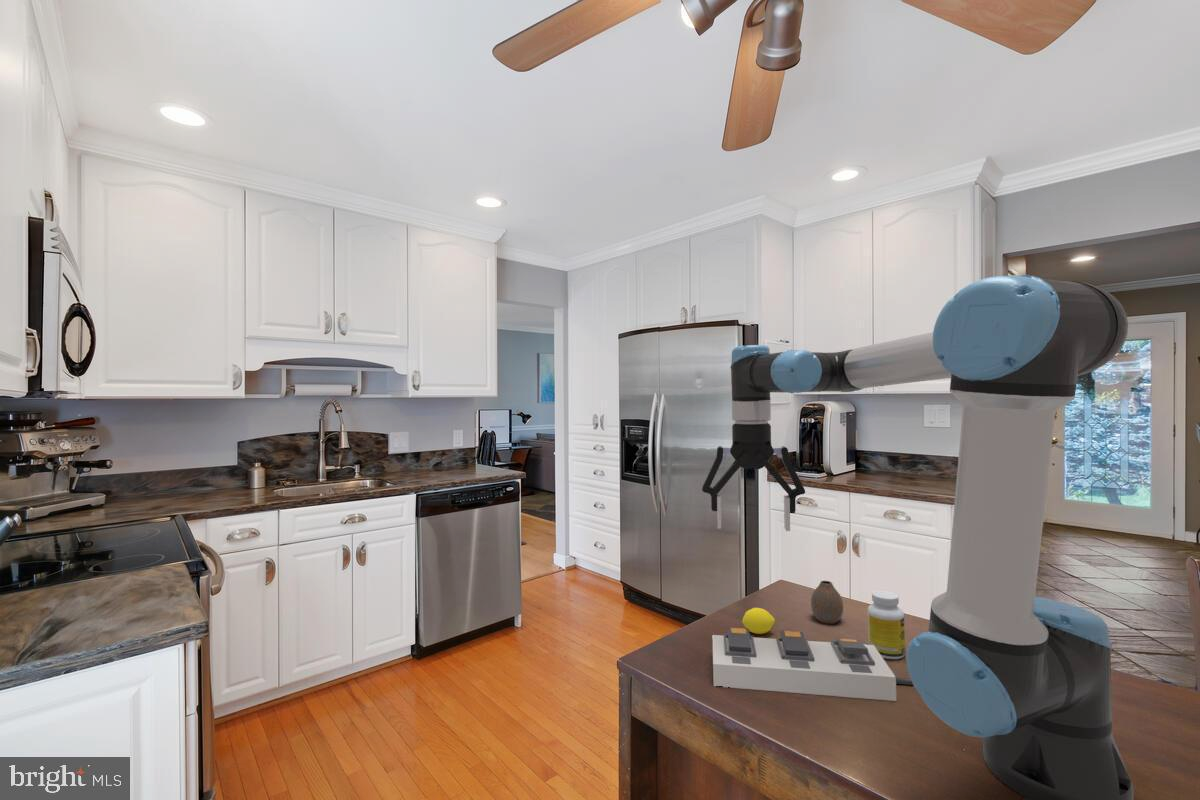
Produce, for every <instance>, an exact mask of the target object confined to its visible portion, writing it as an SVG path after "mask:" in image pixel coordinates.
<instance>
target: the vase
mask: <svg viewBox="0 0 1200 800" xmlns="http://www.w3.org/2000/svg"><path fill="white" fill-rule="evenodd" d="M810 608H811V612H812V615H813V616H814V617H815V618H816V620H818V621H819V622H821V623H823V624H829V625H830V624H832V625H833V624H836V623H837V622H839V621H840V620H841V619H842V616H843V614H844V602H843V598H842V596H841V594H840V593H839V592H838V590H837V589H836V588H835V587H834V585H833V583H832V581H829V580H821V581H820V583H819V584H818V585H817V587H816V588H815V589H814V591H813V592H812V594H811V598H810Z"/></svg>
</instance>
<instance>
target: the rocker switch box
mask: <svg viewBox="0 0 1200 800" xmlns="http://www.w3.org/2000/svg"><path fill="white" fill-rule="evenodd" d="M711 640H712V671H713V672H712V673H713V674H712V676H713V679H712V680H713V687H716V686H723V687H722V688H728V687H730V688H731V689H743V690H755V691H768V692H778V693H779V692H780V693H790V694H791V693H792V694H804V695H814V696H826V697H827V696H828V697H839V698H840V697H841V698H854V699H865V700H881V701H888V702H889V701H891V702H896V701H897V684H899V685H905V686H906V685H907V686H914V685H913V683H912V680H911V678H910V677H908V678H907V677H896V676H895V674H894V672H893V671H892V669H891V668H890V666H888V664H887V662H886V661H885V658H882V656H881V655H880V653H879V652H878V651H877V649H876V648H875V646H874V645H868V644H864V643H863V642H861V641H860V642H861V643H862V644H863V645H864V646H865V647H866V648H867V649H868V655H863V654H848V653H843V651H842V650H841V649H840V648H839V647H838V646H837V644H836V640H830V641H818V640H816V641H813V640H808V639H807V638H805V641H806V644H807V647H808V651H809V656H794V655H785V651H784V646H783V642H782V638H781V636H780V637H777V636H776V637H775V638H768V637H767V638H765V637H754V635H750V641H751V653H750V652H735V651H729V641H728V633H723V634H722V635H720V634H717V635H716V634H712V639H711Z"/></svg>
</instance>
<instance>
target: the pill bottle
mask: <svg viewBox="0 0 1200 800" xmlns="http://www.w3.org/2000/svg"><path fill="white" fill-rule="evenodd" d="M899 599H900V598H899V595H898V594H896V593H894V592H891V591H886V590H874V591H872V593H871V600H872V602H873V603H872V604H870V605H869V606H868V607H867V634H868V636H867V637H868V640H867V641H868V644H867V645H874V646H875V648H876V649H877V651H878V652H879V653H880V655H881V656H882V658H883V659H888V660H900V659H903V658H904V657H905V655H906V639H905V637H906V636H905V614H904V611H903V610H902V608H901V607H899V606H898V605H899Z"/></svg>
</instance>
